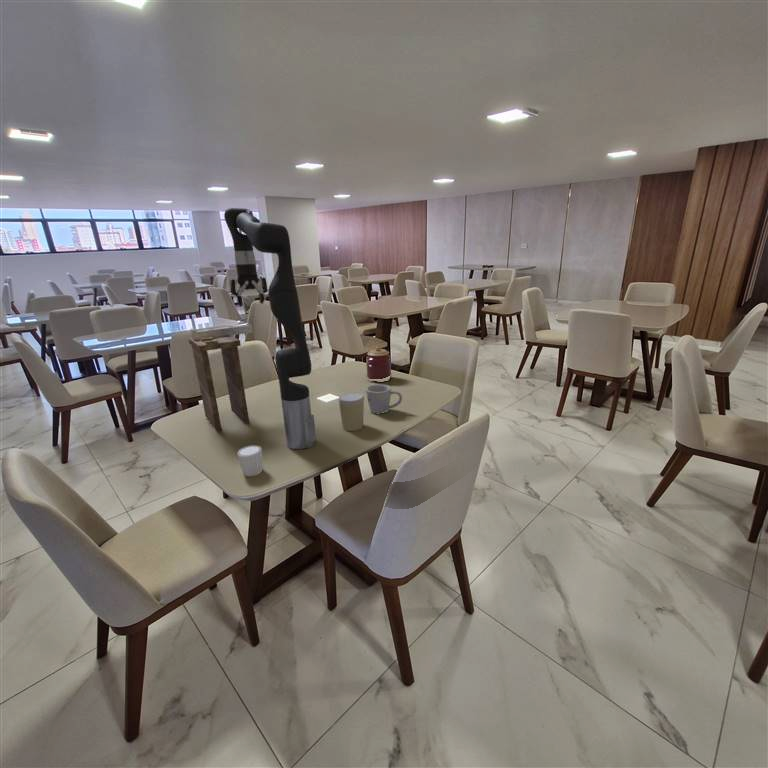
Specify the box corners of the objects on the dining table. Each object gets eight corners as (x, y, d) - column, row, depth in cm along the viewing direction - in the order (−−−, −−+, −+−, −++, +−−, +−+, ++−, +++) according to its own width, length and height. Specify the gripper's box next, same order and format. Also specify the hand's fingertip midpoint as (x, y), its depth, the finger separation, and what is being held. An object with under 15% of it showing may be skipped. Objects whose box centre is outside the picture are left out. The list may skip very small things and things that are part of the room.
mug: (370, 405, 162) (369, 383, 159) (404, 407, 159) (404, 384, 156) (364, 415, 152) (362, 391, 149) (400, 417, 149) (400, 393, 146)
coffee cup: (351, 419, 148) (349, 391, 144) (370, 424, 143) (368, 395, 139) (335, 428, 141) (332, 398, 137) (354, 434, 136) (352, 403, 132)
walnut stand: (238, 408, 165) (225, 331, 154) (252, 422, 149) (239, 337, 139) (203, 416, 157) (187, 335, 146) (215, 432, 141) (198, 343, 131)
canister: (396, 378, 198) (395, 345, 193) (379, 384, 190) (378, 350, 184) (379, 374, 207) (377, 342, 202) (361, 379, 198) (359, 347, 193)
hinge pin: (249, 331, 157) (248, 321, 156) (253, 332, 154) (251, 322, 153) (192, 339, 145) (190, 328, 144) (194, 340, 142) (192, 329, 141)
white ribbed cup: (248, 480, 109) (244, 458, 107) (236, 472, 113) (232, 451, 111) (269, 470, 114) (266, 449, 112) (257, 463, 118) (253, 443, 116)
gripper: (259, 262, 157) (264, 302, 162) (224, 263, 149) (231, 305, 154) (266, 262, 151) (271, 303, 156) (230, 263, 143) (236, 307, 148)
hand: (251, 304), depth 155 cm, fingers open, 8 cm apart
